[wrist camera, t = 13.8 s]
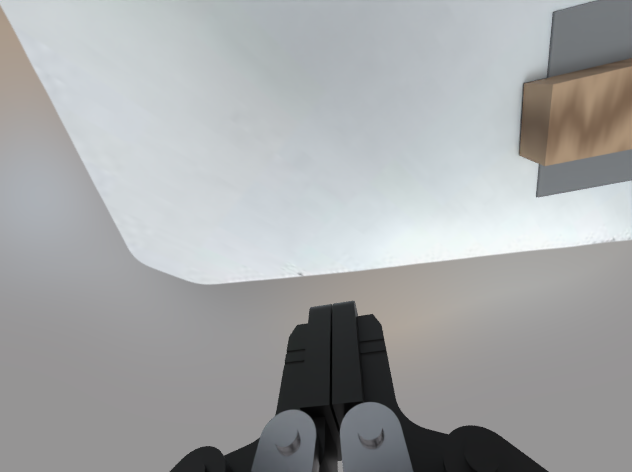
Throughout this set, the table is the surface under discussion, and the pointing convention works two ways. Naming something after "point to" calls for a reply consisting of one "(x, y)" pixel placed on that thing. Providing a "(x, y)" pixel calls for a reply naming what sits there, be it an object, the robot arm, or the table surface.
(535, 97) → the walnut block
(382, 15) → the table surface
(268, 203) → the table surface
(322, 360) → the robot arm
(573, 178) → the mat
